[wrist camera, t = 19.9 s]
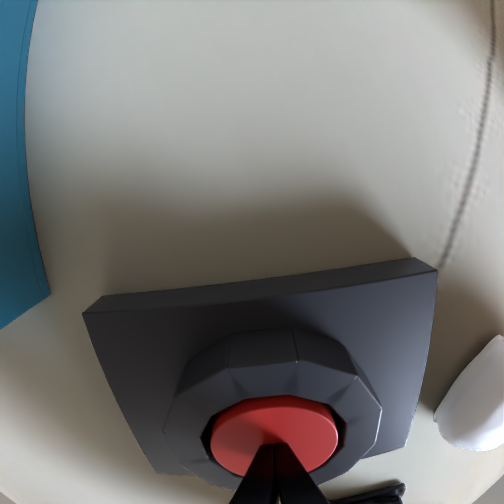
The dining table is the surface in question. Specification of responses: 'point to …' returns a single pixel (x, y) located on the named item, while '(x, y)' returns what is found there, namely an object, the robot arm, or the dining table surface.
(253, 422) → the button
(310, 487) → the robot arm
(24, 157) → the teal open box
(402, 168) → the dining table surface
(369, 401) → the control block
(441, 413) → the garlic
